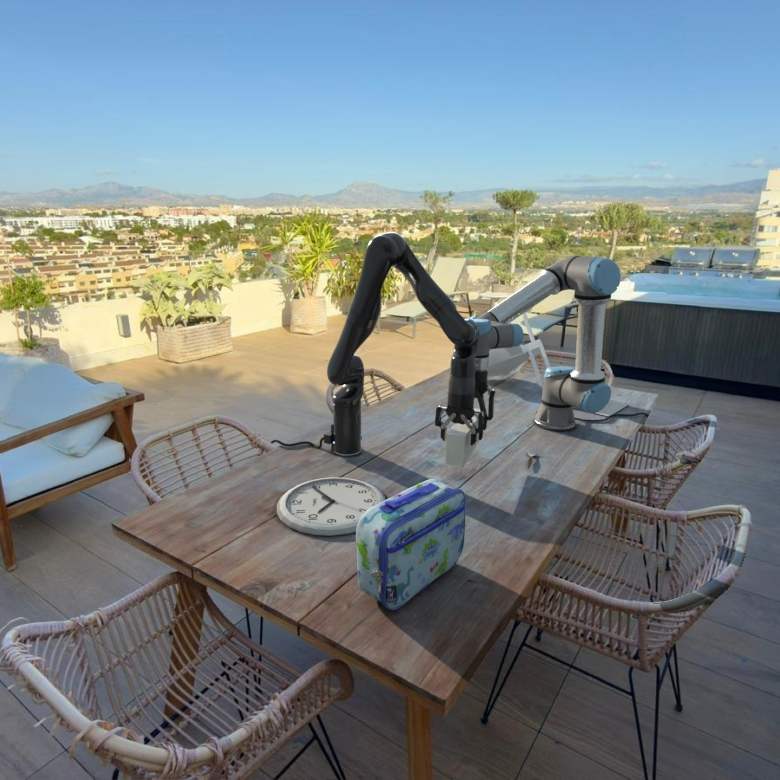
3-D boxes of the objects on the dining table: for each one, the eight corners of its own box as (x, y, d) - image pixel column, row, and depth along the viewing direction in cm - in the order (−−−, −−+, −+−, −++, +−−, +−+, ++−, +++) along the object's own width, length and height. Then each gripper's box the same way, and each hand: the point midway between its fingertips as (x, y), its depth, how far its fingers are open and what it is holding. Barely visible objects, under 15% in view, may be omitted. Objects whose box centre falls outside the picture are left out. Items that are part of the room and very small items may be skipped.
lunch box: (385, 624, 100) (387, 528, 94) (349, 596, 108) (348, 506, 101) (468, 566, 118) (474, 482, 112) (432, 545, 125) (436, 466, 119)
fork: (523, 469, 166) (524, 463, 165) (529, 450, 180) (529, 445, 179) (532, 470, 165) (532, 464, 164) (536, 451, 179) (537, 446, 179)
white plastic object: (490, 420, 264) (470, 397, 239) (471, 347, 286) (451, 319, 261) (562, 396, 252) (549, 369, 227) (536, 322, 274) (521, 290, 249)
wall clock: (392, 527, 129) (268, 531, 127) (391, 533, 130) (269, 537, 127) (383, 473, 158) (282, 475, 155) (383, 478, 158) (282, 480, 156)
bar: (465, 433, 176) (467, 407, 173) (481, 436, 174) (483, 409, 171) (445, 463, 154) (446, 433, 151) (463, 466, 152) (465, 436, 149)
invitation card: (608, 416, 214) (573, 407, 224) (608, 416, 214) (573, 408, 224) (628, 404, 229) (594, 396, 238) (628, 405, 229) (594, 397, 238)
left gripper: (433, 390, 149) (431, 443, 153) (483, 396, 144) (479, 451, 148) (441, 383, 155) (438, 434, 160) (488, 389, 150) (484, 441, 155)
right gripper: (444, 368, 164) (441, 436, 171) (503, 375, 158) (497, 445, 165) (450, 362, 171) (447, 428, 178) (507, 369, 165) (501, 437, 172)
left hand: (458, 442), depth 154 cm, fingers open, 8 cm apart
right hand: (471, 436), depth 171 cm, fingers closed on bar, 5 cm apart
